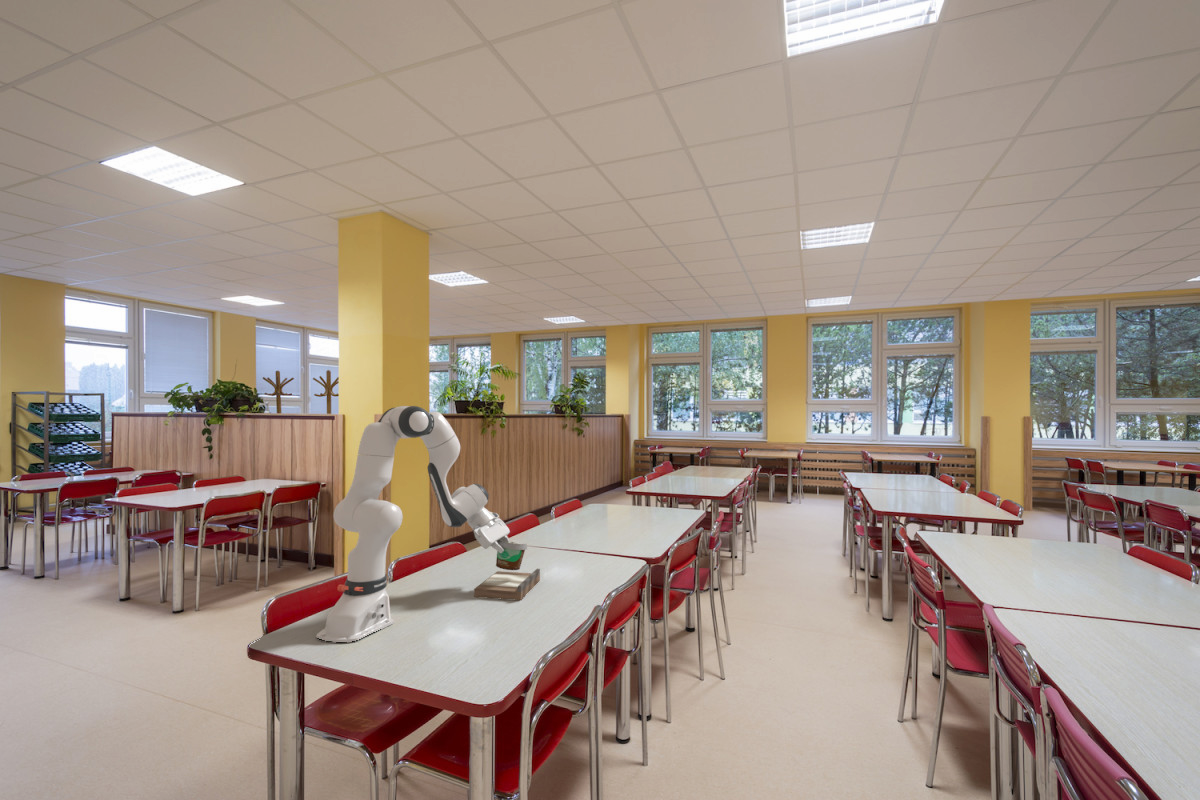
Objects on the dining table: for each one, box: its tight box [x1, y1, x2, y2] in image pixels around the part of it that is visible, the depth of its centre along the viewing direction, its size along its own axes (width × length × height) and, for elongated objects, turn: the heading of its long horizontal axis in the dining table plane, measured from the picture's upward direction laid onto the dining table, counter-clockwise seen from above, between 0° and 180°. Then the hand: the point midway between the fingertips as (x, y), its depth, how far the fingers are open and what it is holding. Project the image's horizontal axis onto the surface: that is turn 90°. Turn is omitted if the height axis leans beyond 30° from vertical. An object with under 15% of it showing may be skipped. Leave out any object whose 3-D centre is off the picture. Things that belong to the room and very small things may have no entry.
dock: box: [473, 568, 541, 601], centre depth 194 cm, size 22×18×5 cm
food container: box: [495, 539, 528, 571], centre depth 194 cm, size 12×6×10 cm, turn 79°
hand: (506, 549), depth 194 cm, fingers closed on food container, 6 cm apart
